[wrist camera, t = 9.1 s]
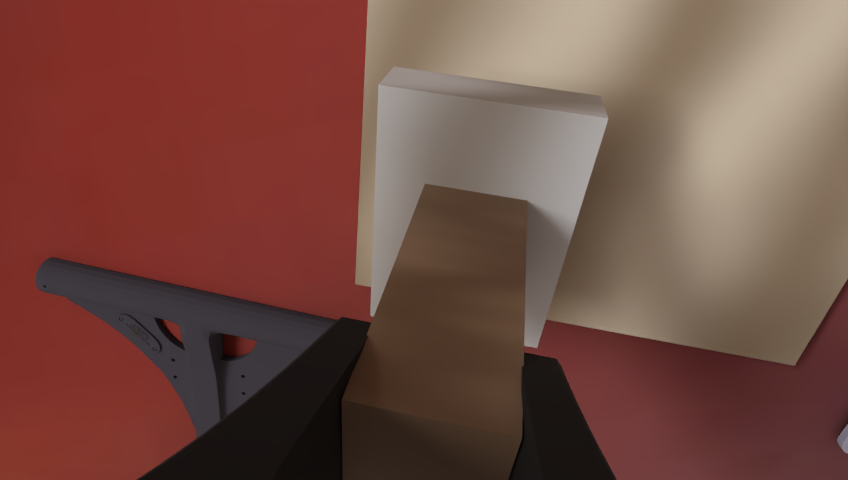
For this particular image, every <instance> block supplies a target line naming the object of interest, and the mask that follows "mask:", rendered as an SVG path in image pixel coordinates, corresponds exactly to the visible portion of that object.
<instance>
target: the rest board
mask: <svg viewBox="0 0 848 480" xmlns="http://www.w3.org/2000/svg"><path fill="white" fill-rule="evenodd" d="M393 67H401V68H408V69H415V70H422V71H429V72H436V73H444V74H451V75H458V76H465V77H472V78H479V79H486V80H493V81H500V82H507V83H514V84H521V85H528V86H535V87H542V88H549V89H556V90H563V91H570V92H577V93H584V94H591V95H598V96H601V98H602V101H603V104H604V107H605V110H606V113H607V116H608V122H607V125H606V128H605V131H604V134H603V138H602V141H601V144H600V147H599V151H598V154H597V157H596V160H595V163H594V167H593V170H592V173H591V176H590V179H589V183H588V186H587V189H586V192H585V195H584V199H583V202H582V205H581V208H580V212H579V215H578V218H577V221H576V224H575V228H574V231H573V234H572V237H571V240H570V244H569V247H568V250H567V253H566V256H565V260H564V263H563V266H562V269H561V273H560V276H559V279H558V282H557V285H556V289H555V292H554V295H553V298H552V301H551V305H550V308H549V311H548V314H547V317H546V320H551V321H557V322H562V323H567V324H573V325H578V326H584V327H589V328H594V329H600V330H605V331H610V332H616V333H621V334H626V335H632V336H637V337H643V338H648V339H653V340H659V341H664V342H669V343H675V344H680V345H686V346H691V347H696V348H702V349H707V350H712V351H718V352H723V353H729V354H734V355H739V356H745V357H750V358H755V359H761V360H766V361H772V362H777V363H782V364H788V365H793V366H795V364H796V363H797V361H798V359H799V358H800V356H801V354H802V353H803V351H804V349H805V348H806V346H807V344H808V343H809V341H810V340H811V338H812V336H813V335H814V333H815V331H816V330H817V328H818V326H819V325H820V323H821V322H822V320H823V318H824V317H825V315H826V313H827V312H828V310H829V308H830V307H831V305H832V304H833V302H834V300H835V299H836V297H837V295H838V294H839V292H840V290H841V289H842V287H843V285H844V284H845V282H846V281H847V279H848V0H368V14H367V36H366V58H365V80H364V102H363V124H362V146H361V168H360V190H359V212H358V234H357V256H356V278H355V284H358V285H363V286H369V287H371V284H372V255H373V226H374V197H375V168H376V139H377V110H378V85H379V83H380V82H381V81H382V80H383V79H384V78H385V76H386V75H387V74H388V73H389V72H390V70H391V69H392V68H393Z"/></svg>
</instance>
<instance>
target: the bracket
mask: <svg viewBox="0 0 848 480" xmlns="http://www.w3.org/2000/svg"><path fill="white" fill-rule="evenodd" d="M35 280H36V285H37V288H38V289H39V290H41V291H43V292H47V293H51V294H55V295H60V296H64V297H67V298H68V299H69V300H70V301H72V302H74V303H76V304H77V305H79V306H81V307H82V308H84V309H86V310H87V311H89V312H91V313H92V314H94V315H96V316H97V317H99V318H100V319H102V320H103V321H105V322H106V323H108V324H109V325H110V326H112V327H113V328H115V329H116V330H117V331H119V332H120V333H121V334H122V335H124V336H125V337H126V338H127V339H129V340H130V341H131V342H132V343H133V344H135V345H136V346H137V347H138V348H139V349H140V350H141V351H142V352H143V353H144V354H145V355H146V356H147V357H148V358H149V359H150V360H151V361H152V362H153V363H154V364H155V365H156V366H157V367H158V368H159V369H160V370H161V371H162V372H163V373H164V374H165V375H166V377H167V378H168V380H169V381H170V383H171V384H172V386H173V387H174V389H175V390H176V392H177V393H178V395H179V396H180V398H181V400H182V402H183V403H184V405H185V407H186V409H187V411H188V413H189V415H190V418H191V420H192V422H193V424H194V427H195V429H196V432H197V438H198V437H199V436H201V435H202V434H203V433H205V432H206V431H207V430H209V429H210V428H211V427H213V426H214V425H215V424H216V423H218V422H219V421H220V420H222V419H223V418H224V417H226V416H227V415H228V414H229V413H231V412H232V411H233V410H235V409H236V408H237V407H239V406H240V405H241V404H242V403H244V402H245V401H246V400H248V399H249V398H250V397H251V396H252V395H254V394H255V393H256V392H257V391H258V390H260V389H261V388H262V387H263V386H264V385H266V384H267V383H268V382H269V381H270V380H271V379H273V378H274V377H275V376H276V375H277V374H278V373H280V372H281V371H282V370H283V369H284V368H286V367H287V366H288V365H289V364H290V363H291V362H292V361H293V360H295V359H296V358H297V357H298V356H299V355H300V354H301V353H302V352H304V351H305V350H306V349H307V348H308V347H309V346H310V345H311V344H312V343H313V342H314V341H315V340H317V339H318V338H319V337H320V336H321V335H322V334H323V333H324V332H325V331H326V330H327V329H328V328H329V327H330V326H331V325H332V324H333V323H334V322H335V321H337V320H333V319H328V318H324V317H319V316H315V315H310V314H306V313H301V312H297V311H292V310H288V309H283V308H279V307H274V306H270V305H265V304H261V303H256V302H251V301H247V300H242V299H238V298H233V297H229V296H224V295H220V294H215V293H211V292H206V291H202V290H197V289H193V288H188V287H184V286H179V285H175V284H170V283H166V282H161V281H157V280H152V279H147V278H143V277H138V276H134V275H129V274H125V273H120V272H116V271H111V270H107V269H102V268H98V267H93V266H89V265H84V264H80V263H75V262H71V261H66V260H62V259H57V258H52V257H51V258H49V259H47V260H45V261H44V262H43V263H42V264H41V266H40V267H39V269H38V271H37V274H36V278H35ZM159 318H160V319H164V320H167V321H171V322H174V323H176V324H178V325H179V327H180V331H181V336H182V341H183V343H181V342H179V341H178V340H177V339H175V338H174V337H173V336H172V335H171V334H170V333H169V332H168V331H167V330H166V329H165V327H164V326H163V324H162V323H161V321H160V319H159ZM223 334H228V335H233V336H238V337H242V338H247V339H251V340H255V341H257V343H256V345H255V348H254V350H253V351H251V352H250V353H248V354H246V355H243V356H237V357H229V356H225V355H224V354H223Z"/></svg>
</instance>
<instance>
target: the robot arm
mask: <svg viewBox="0 0 848 480" xmlns="http://www.w3.org/2000/svg"><path fill="white" fill-rule="evenodd" d="M370 325H371V323H370V322H365V321H360V320H355V319H350V318H344V317H342V318H340V319H338V320H337V321H335V322H334V323H333V324H332V325H331V326H330V327H329V328H328V329H327V330H326V331H325V332H324V333H323V334H322V335H321V336H320V337H319V338H318V339H317V340H315V341H314V342H313V343H312V344H311V345H310V346H309V347H308V348H307V349H306V350H305V351H304V352H302V353H301V354H300V355H299V356H298V357H297V358H296V359H295V360H293V361H292V362H291V363H290V364H289V365H288V366H287V367H286V368H284V369H283V370H282V371H281V372H280V373H278V374H277V375H276V376H275V377H274V378H273V379H271V380H270V381H269V382H268V383H267V384H266V385H264V386H263V387H262V388H261V389H260V390H258V391H257V392H256V393H255V394H254V395H252V396H251V397H250V398H249V399H248V400H246V401H245V402H244V403H242V404H241V405H240V406H239V407H237V408H236V409H235V410H233V411H232V412H231V413H229V414H228V415H227V416H226V417H224V418H223V419H222V420H220V421H219V422H218V423H216V424H215V425H214V426H213V427H211V428H210V429H209V430H207V431H206V432H205V433H203V434H202V435H201V436H199V437H198V438H197V439H195V440H194V441H193V442H191V443H190V444H188V445H187V446H185V447H184V448H183V449H181V450H180V451H178V452H177V453H176V454H174V455H173V456H171V457H170V458H168V459H167V460H166V461H164V462H163V463H161V464H160V465H158V466H157V467H155V468H154V469H152V470H151V471H149V472H148V473H146V474H145V475H143V476H142V477H140V478H139V479H137V480H343V475H342V398H343V395H344V392H345V390H346V387H347V385H348V382H349V379H350V377H351V374H352V372H353V370H354V368H355V366H356V364H357V362H358V360H359V358H360V355H361V353H362V350H363V348H364V345H365V342H366V340H367V337H368V335H367V333H368V330H369V327H370ZM521 394H522V407H523V423H522V440H521V443H520V446H519V449H518V452H517V455H516V458H515V461H514V464H513V467H512V470H511V473H510V476H509V479H508V480H616V478H615V476H614V474H613V472H612V470H611V468H610V467H609V465H608V463H607V461H606V459H605V457H604V455H603V453H602V452H601V450H600V448H599V446H598V444H597V442H596V440H595V438H594V436H593V434H592V432H591V430H590V428H589V426H588V424H587V422H586V420H585V418H584V416H583V414H582V412H581V410H580V408H579V405H578V403H577V401H576V399H575V397H574V395H573V392H572V390H571V388H570V386H569V383H568V381H567V379H566V376H565V374H564V372H563V369H562V367H561V365H560V363H559V362H558V361H557V359H555V358H549V357H544V356H539V355H534V354H529V353H524V366H522V380H521ZM837 442H838V444H839V446H840V447H841V449H842V450H843V451H844V452H845V453H848V424H847V425H846V427H845V428H844V429H843V431H842V432H841V434H840V435H839V436H838V439H837Z"/></svg>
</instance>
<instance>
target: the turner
mask: <svg viewBox="0 0 848 480" xmlns="http://www.w3.org/2000/svg"><path fill="white" fill-rule="evenodd" d="M607 122H608V116H607V113H606V110H605V107H604V104H603V101H602V98H601V96H598V95H591V94H584V93H577V92H570V91H563V90H556V89H549V88H542V87H535V86H528V85H521V84H514V83H507V82H500V81H493V80H486V79H479V78H472V77H465V76H458V75H451V74H444V73H436V72H429V71H422V70H415V69H408V68H401V67H393V68H392V69H391V70H390V72H389V73H388V74H387V75H386V76H385V78H384V79H383V80H382V81H381V82H380V83H379V85H378V110H377V139H376V168H375V197H374V226H373V255H372V284H371V312H370V316H374V317H373V320H372V322H371V325H370V327H369V330H368V333H367V335H368V337H367V340H366V342H365V345H364V348H363V350H362V353H361V355H360V358H359V360H358V362H357V364H356V366H355V368H354V370H353V372H352V374H351V377H350V379H349V382H348V385H347V387H346V390H345V392H344V395H343V398H342V475H343V480H508V479H509V476H510V473H511V470H512V467H513V464H514V461H515V458H516V455H517V452H518V449H519V446H520V443H521V440H522V423H523V407H522V394H521V380H522V366H524V346H529V347H534V348H537V346H538V343H539V340H540V337H541V333H542V330H543V327H544V324H545V321H546V317H547V314H548V311H549V308H550V305H551V301H552V298H553V295H554V292H555V289H556V285H557V282H558V279H559V276H560V273H561V269H562V266H563V263H564V260H565V256H566V253H567V250H568V247H569V244H570V240H571V237H572V234H573V231H574V228H575V224H576V221H577V218H578V215H579V212H580V208H581V205H582V202H583V199H584V195H585V192H586V189H587V186H588V183H589V179H590V176H591V173H592V170H593V167H594V163H595V160H596V157H597V154H598V151H599V147H600V144H601V141H602V138H603V134H604V131H605V128H606V125H607Z"/></svg>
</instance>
